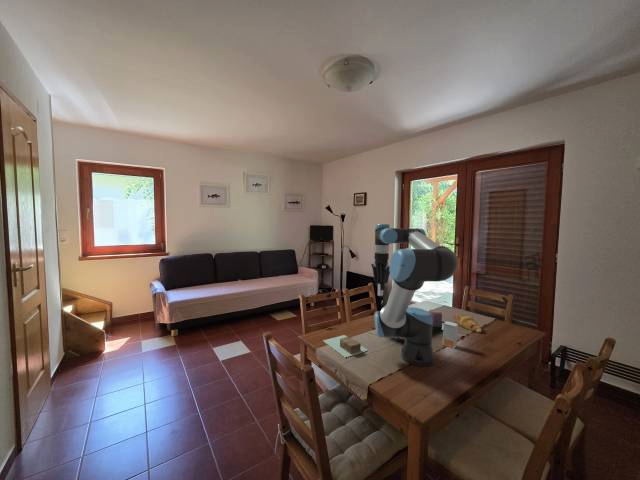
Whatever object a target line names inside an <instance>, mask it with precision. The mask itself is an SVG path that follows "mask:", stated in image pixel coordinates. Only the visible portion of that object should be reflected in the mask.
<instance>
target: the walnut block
mask: <svg viewBox="0 0 640 480" xmlns="http://www.w3.org/2000/svg"><path fill="white" fill-rule="evenodd" d="M361 346H362V343H361V342H359V341H357V340H356V339H354V337H351V336H347V337H346V338H342V339H340V347H341V348H343V349H344V350H345V351H347V352H348V353H350V354H353V353H356V352H360V349H361Z"/></svg>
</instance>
